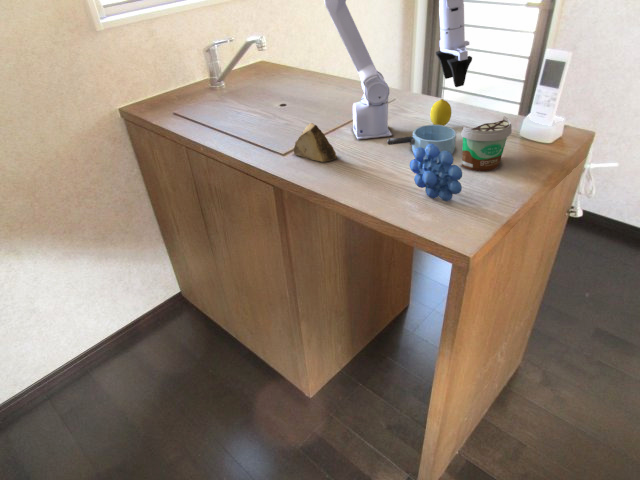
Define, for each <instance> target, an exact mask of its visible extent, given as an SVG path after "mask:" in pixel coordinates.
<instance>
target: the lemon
mask: <svg viewBox="0 0 640 480" xmlns="http://www.w3.org/2000/svg"><path fill="white" fill-rule="evenodd" d="M429 117H430V122H431V123H432V125H443V126H447V124H448V123H449V122H450V120H451V118H452V107H451V104H450V103H449V102H448V101H447V100H445V99H443V98H441V99H439V100H437V101H435V102H434V103H433V104H432V106H431V108H430V112H429Z"/></svg>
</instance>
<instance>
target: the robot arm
mask: <svg viewBox="0 0 640 480" xmlns="http://www.w3.org/2000/svg"><path fill="white" fill-rule="evenodd" d="M346 1H347V0H323V2H324V5H325V8H326V10H327V12H328V14H329V16H330V18H331V21H332V23H333V24H334V27H335V28H336V30H337V32H338V35H339V37H340V39H341V41H342V43H343V45H344V47H345V49H346V51H347V54H348V55H349V57H350V59H351V61H352V63H353V66H354V68H355V69H356V71H357V74H358V76H359V78H360V87H361V89H362V91H363V95H362V97H360V100H359V101H358V102H353V103H352V130H353V133H354V135H355V137H356V139H357V140H368V139H377V138H387V137H392V132H391V130H390V129H389V127H388V125H389V96H390V87H389V85H388V82H386V80H385V77H384V75H383V74H382V73H381V72H380V71H378V69H377V68H376V66H375V64H374V62H373V60H372V57H371V56H370V52H369V51H368V49H367V47H366V44H365V42H364V40H363V38H362V36H361V34H360V32H359V29H358V27H357V25H356V23H355V21H354V19H353V16H352V14H351V12H350V10H349V8H348V4H347V3H346ZM464 2H465V0H438V5H439V7H438V14H439V15H438V17H439V34H440V35H439V38H440V40H439V50H438V51H436V52H435V55H436V57H437V59H438V61H439V63H440V67H441V70H442V74H443V77H444V79H445V80H447V79H451V78H452V80H453V85H454V87H455V88H459V87H463V86H464V85H465V82H466V78H467V73H468V69H469V67H470V65H471V63H472V61H473V57H472V56H471V55H468V54H469V53H468V50H467V46H468V47H469V46H470V41H468V40H465V39H466V37H465V35H466V34H465V4H464Z"/></svg>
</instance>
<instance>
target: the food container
mask: <svg viewBox="0 0 640 480" xmlns="http://www.w3.org/2000/svg"><path fill="white" fill-rule="evenodd" d="M512 133H513V129H512V122H511V120H510V119H509V118H508V117H506V116H503V117H502V119H501V120H499V121H495V122H488V123H483V124H480V125H478V126H476V127H472V128H468V127H465V126H463V127H462V130H461V133H460V137H461V138H462V147H461V150H462V151H461V152H462V153H461V167H462V168H463V169H466V170H469V171H473V172H491V171H494V170H496V169H498V168H499V166H500V163H501V159H502V156H503V154H504V149H505V146H506V143H507V140H508V138H510V136H511V135H512Z"/></svg>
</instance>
